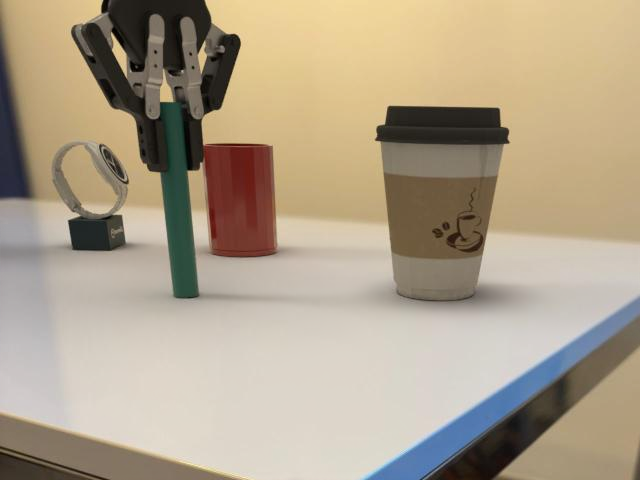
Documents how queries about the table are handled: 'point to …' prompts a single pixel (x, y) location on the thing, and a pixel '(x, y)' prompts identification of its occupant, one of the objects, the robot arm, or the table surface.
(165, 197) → the straw
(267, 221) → the can
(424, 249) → the coffee cup
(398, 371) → the table surface
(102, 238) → the watch
